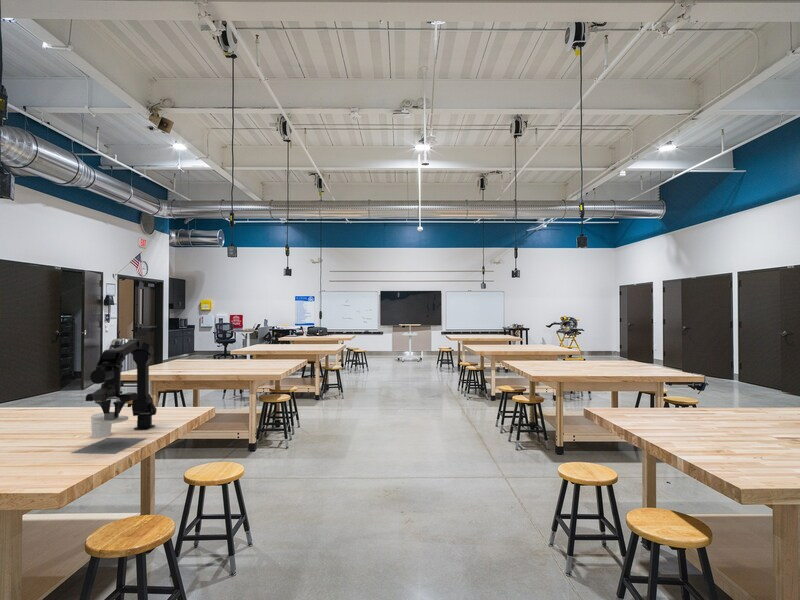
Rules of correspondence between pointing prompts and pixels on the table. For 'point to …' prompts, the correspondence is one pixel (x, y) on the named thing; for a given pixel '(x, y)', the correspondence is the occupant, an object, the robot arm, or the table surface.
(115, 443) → the charcoal mat
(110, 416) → the lid
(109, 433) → the white cup
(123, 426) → the table surface
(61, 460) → the table surface
